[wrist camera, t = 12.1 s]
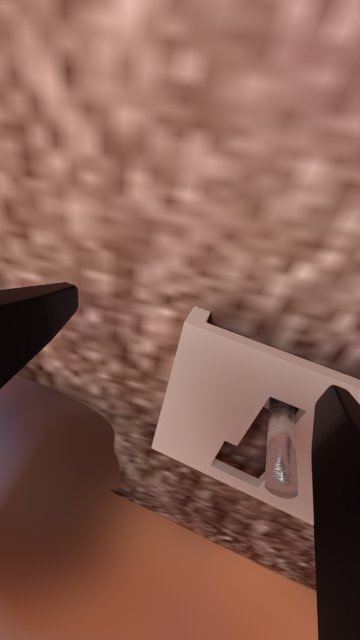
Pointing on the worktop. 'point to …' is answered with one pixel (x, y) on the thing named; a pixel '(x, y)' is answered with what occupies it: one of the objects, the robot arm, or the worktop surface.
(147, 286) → the worktop surface
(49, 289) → the robot arm
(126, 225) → the worktop surface
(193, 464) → the keyhole board
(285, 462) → the steel peg
